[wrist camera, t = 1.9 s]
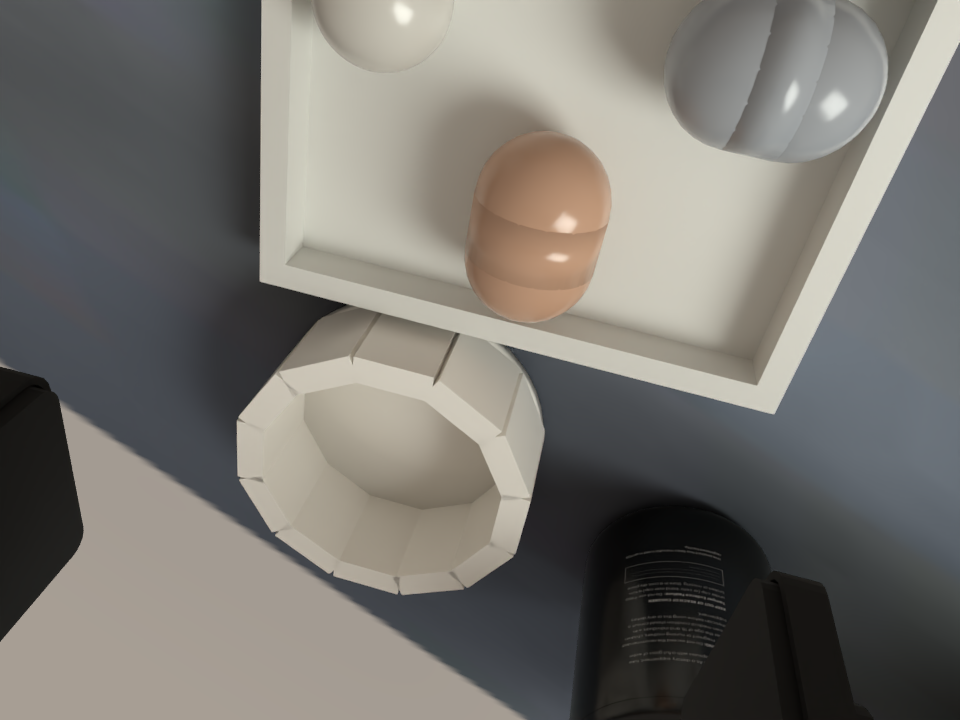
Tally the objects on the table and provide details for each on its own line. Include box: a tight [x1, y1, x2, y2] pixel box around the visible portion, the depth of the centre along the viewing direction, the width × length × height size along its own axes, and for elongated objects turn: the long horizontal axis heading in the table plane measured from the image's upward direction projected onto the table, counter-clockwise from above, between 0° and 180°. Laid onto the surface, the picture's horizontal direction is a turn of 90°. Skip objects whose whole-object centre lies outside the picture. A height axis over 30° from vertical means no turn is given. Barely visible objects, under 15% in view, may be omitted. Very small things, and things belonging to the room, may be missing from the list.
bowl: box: [237, 305, 545, 595], centre depth 26 cm, size 10×10×4 cm
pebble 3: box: [664, 0, 888, 163], centre depth 17 cm, size 5×4×4 cm
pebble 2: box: [464, 131, 612, 323], centre depth 20 cm, size 5×4×4 cm
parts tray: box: [260, 0, 960, 414], centre depth 20 cm, size 16×12×2 cm
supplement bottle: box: [569, 506, 771, 720], centre depth 24 cm, size 7×7×12 cm
